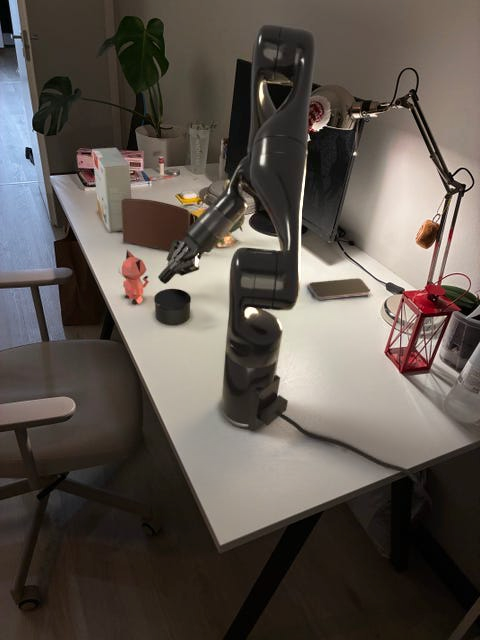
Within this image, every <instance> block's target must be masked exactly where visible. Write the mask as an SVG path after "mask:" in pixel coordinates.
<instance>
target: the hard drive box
mask: <svg viewBox="0 0 480 640" xmlns="http://www.w3.org/2000/svg"><path fill="white" fill-rule="evenodd" d="M91 152H92V153H91V154H92V159H93V160H92V161H93V162H92V163H93V171H94V181H95V182H94V183H95V191H96V201H97V210H98V213H99V215H100V217H101V219H102V221H103V224H104V225H105V227H106V229H107V230H108V232H109V233H113V232H121V231H122V232H123V225H122V205H121V202H122V200H123V199H133V198H132V183H131V182H132V181H131V180H132V179H131V166H130V164H129V162H128V161H127V159H125V157H124V155H123V154H122V153H121V151H120V150H119V149H118V147H106V148H104V147H103V148H93V149H91Z"/></svg>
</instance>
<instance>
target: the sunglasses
mask: <svg viewBox="0 0 480 640" xmlns="http://www.w3.org/2000/svg"><path fill="white" fill-rule="evenodd" d="M182 207H183V208H185V207H196V209H192V210H188V211H189V212H190V213H192V214H194V215H196V216H198V217H199V216H200V215H201V214H202V213H203V212H204V211H205V210H206V209H207V207H206V206H203V205H200V204H197V203H186V204H182Z"/></svg>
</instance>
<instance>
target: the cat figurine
mask: <svg viewBox="0 0 480 640" xmlns="http://www.w3.org/2000/svg"><path fill="white" fill-rule="evenodd" d="M117 269H118V270H119V271H118V273H119V274H121V276H122V277H123V278H124V279H125V280H124V281H123V282H122V283H123V288H124V293H125V295H124V298H125V299H128V300H131V299H132V300H131V305H133V306H137V305H140V304H141V303H142V302H143V300H144V298H143V296H142V295H143V294H144V288H146V287H147V285H148V284H149V283H150V281H149V280H148V278H149V276H148V275H145V273H146V272H147V267H146V265H145V263H144V261H143V260H142V259H140V258H139V257H136V256H134V255H133V254H132V253H131V252H130V251H129V250H128V249H126V253H125V260H124V261H123V262H122V265H121V271H120V268H119V267H117ZM144 275H145V276H144ZM141 277H143V278H142V280H143V281H144V283H143V281H142V280H141Z"/></svg>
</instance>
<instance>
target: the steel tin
mask: <svg viewBox="0 0 480 640" xmlns="http://www.w3.org/2000/svg"><path fill="white" fill-rule="evenodd" d="M153 298H154V299H153V301H154V314H155V315H154V316H155V319H156V321H158V323H160V324H162V325H166V326H181V325H184V324H185V323H187V322H188V321H189V320H190V317H191V302H192V296H191V295H190V293H189V292H187V291H186V290H184V289H180V288H166V289H162V290H160V291H158V292H157V293H156V294H155V295H154V297H153Z"/></svg>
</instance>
